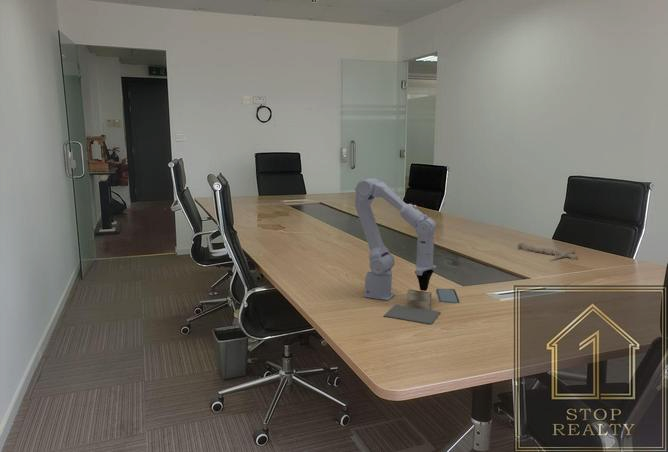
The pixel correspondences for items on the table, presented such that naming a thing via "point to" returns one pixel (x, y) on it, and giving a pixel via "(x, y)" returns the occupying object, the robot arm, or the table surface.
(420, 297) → the brown wooden block
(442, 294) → the smartphone
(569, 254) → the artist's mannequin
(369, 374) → the table surface
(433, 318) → the mat
